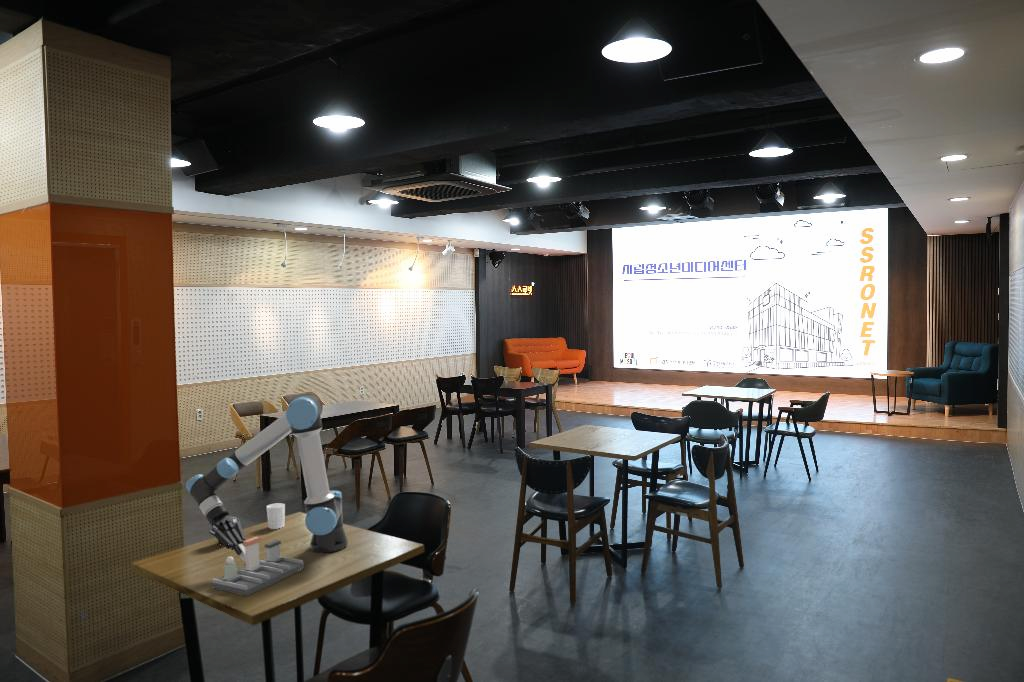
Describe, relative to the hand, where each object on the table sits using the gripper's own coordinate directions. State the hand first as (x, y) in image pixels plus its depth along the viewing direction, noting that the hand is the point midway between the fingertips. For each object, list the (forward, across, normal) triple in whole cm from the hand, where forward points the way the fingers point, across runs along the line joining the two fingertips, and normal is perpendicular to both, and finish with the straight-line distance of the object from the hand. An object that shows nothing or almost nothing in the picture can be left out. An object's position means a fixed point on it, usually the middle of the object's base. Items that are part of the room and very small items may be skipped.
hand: (247, 559), depth 256 cm
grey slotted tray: (+8, 0, 0) cm, 8 cm away
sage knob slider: (+4, +10, -1) cm, 11 cm away
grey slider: (+4, -10, -1) cm, 11 cm away
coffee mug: (-23, -24, -32) cm, 46 cm away
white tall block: (+4, 0, -1) cm, 4 cm away
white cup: (-20, -47, -29) cm, 59 cm away
